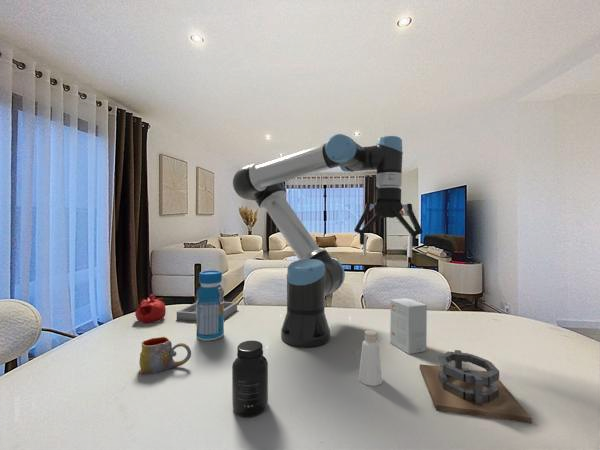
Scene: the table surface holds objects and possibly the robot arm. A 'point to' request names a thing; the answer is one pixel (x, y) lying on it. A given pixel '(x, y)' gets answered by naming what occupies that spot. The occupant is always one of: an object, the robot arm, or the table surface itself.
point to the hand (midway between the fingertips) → (386, 256)
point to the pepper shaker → (370, 360)
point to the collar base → (448, 402)
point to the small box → (408, 325)
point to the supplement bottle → (249, 380)
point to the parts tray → (191, 315)
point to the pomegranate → (150, 310)
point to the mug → (160, 355)
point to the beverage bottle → (210, 306)
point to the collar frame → (469, 377)
